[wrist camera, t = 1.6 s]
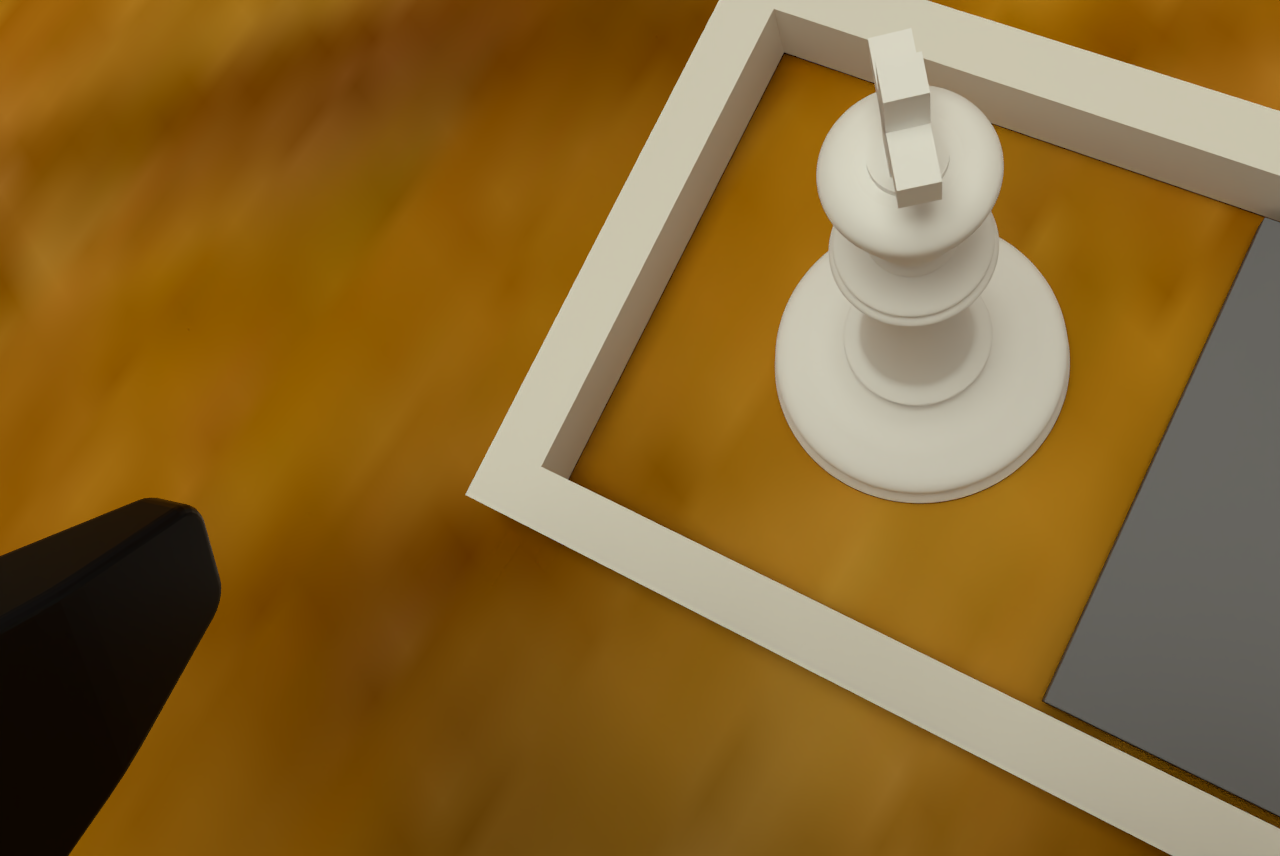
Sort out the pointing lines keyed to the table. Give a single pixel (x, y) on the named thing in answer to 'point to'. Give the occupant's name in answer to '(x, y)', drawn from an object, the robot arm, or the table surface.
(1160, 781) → the trap box
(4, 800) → the robot arm
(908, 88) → the chess piece
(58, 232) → the table surface
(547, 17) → the table surface
